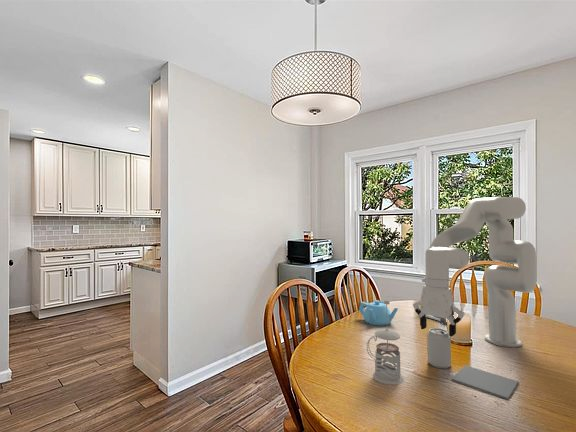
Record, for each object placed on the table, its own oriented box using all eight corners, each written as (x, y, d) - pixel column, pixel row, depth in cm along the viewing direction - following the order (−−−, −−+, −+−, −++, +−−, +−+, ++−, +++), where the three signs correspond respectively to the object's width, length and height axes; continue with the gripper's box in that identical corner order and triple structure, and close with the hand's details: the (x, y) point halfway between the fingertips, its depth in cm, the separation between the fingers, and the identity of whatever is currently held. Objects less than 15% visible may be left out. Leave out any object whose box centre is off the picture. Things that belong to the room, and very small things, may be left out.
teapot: (384, 316, 165) (384, 296, 165) (399, 325, 150) (399, 303, 150) (357, 318, 162) (357, 297, 162) (370, 327, 147) (369, 305, 148)
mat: (465, 366, 107) (465, 365, 107) (518, 383, 96) (518, 381, 96) (451, 380, 98) (451, 378, 98) (508, 399, 87) (508, 397, 87)
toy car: (415, 297, 167) (429, 295, 172) (415, 315, 166) (430, 312, 172) (445, 305, 151) (460, 302, 156) (445, 325, 150) (460, 321, 156)
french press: (400, 387, 94) (398, 305, 94) (363, 378, 100) (361, 300, 101) (406, 374, 102) (405, 298, 103) (372, 365, 108) (370, 294, 109)
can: (454, 370, 104) (453, 334, 105) (430, 368, 106) (429, 333, 106) (447, 360, 112) (446, 327, 112) (425, 359, 113) (424, 326, 113)
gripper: (408, 281, 113) (408, 328, 112) (459, 288, 100) (460, 341, 100) (417, 278, 118) (418, 323, 118) (467, 285, 105) (468, 336, 105)
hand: (437, 331), depth 109 cm, fingers open, 9 cm apart
